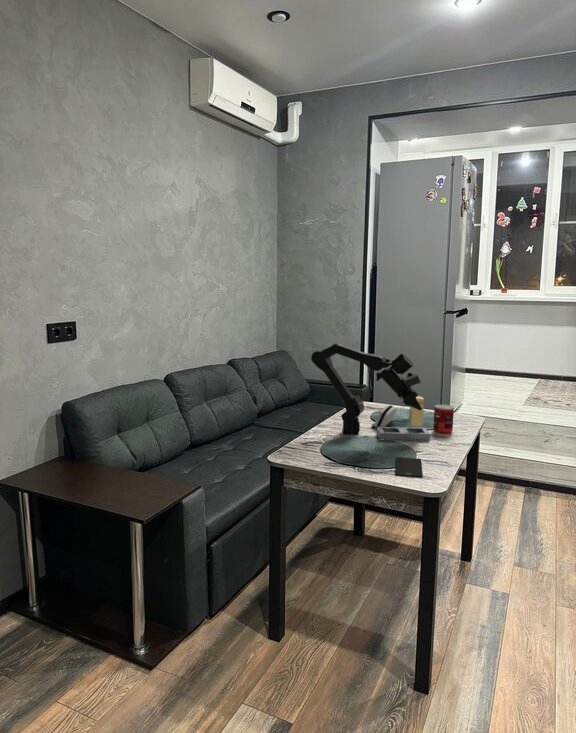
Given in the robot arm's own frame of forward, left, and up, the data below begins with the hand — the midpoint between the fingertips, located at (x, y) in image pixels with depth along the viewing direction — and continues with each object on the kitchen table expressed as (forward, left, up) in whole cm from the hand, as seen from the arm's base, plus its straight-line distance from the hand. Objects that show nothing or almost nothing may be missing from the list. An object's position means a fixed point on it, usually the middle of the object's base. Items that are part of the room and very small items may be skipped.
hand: (419, 408), depth 218 cm
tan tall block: (-1, 0, -7) cm, 7 cm away
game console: (-11, +20, -13) cm, 26 cm away
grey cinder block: (-6, 0, -12) cm, 14 cm away
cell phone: (-11, -36, -13) cm, 40 cm away
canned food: (+13, +10, -13) cm, 21 cm away
